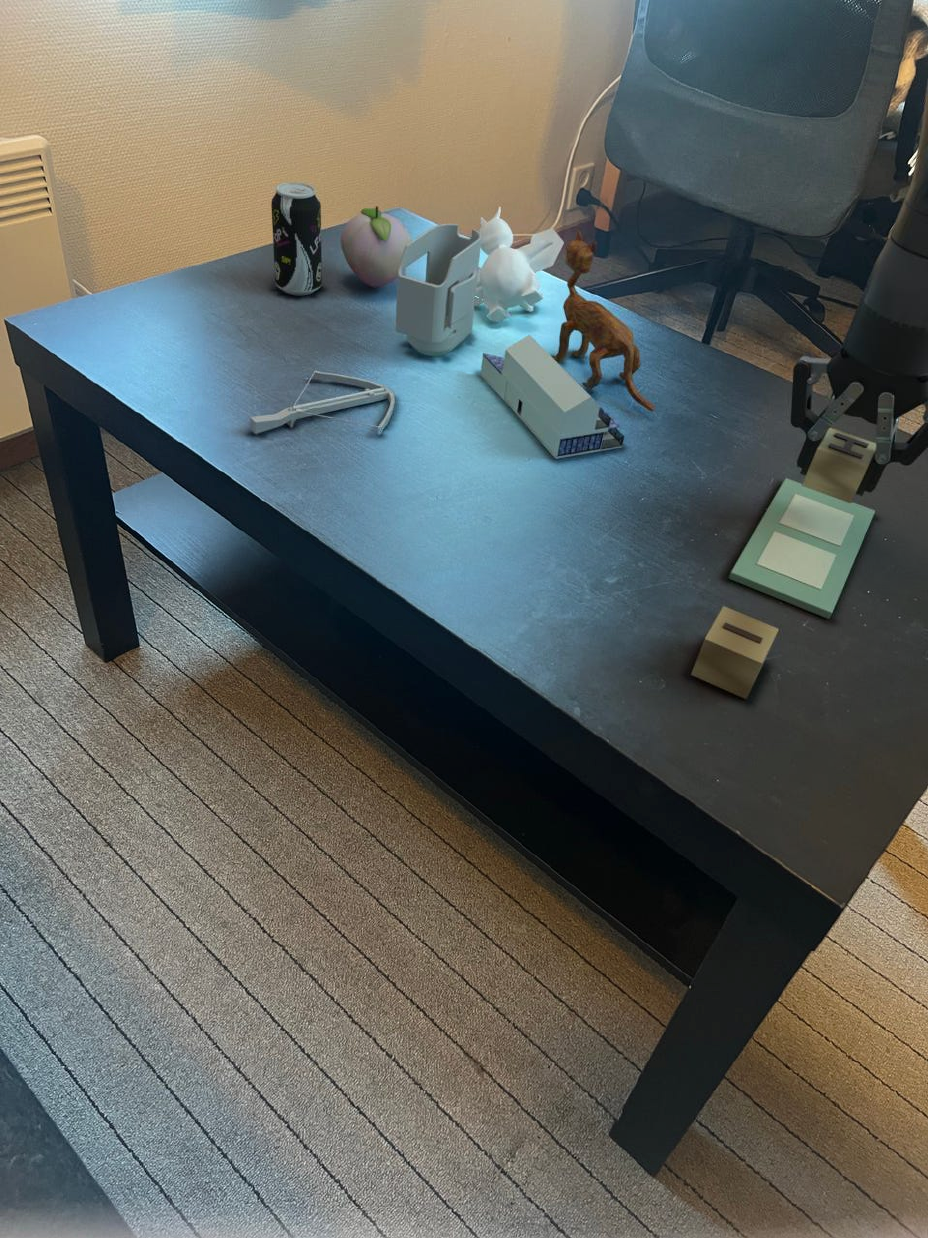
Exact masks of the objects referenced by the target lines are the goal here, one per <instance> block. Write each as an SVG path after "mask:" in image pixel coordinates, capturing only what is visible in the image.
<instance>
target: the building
mask: <svg viewBox="0 0 928 1238" xmlns="http://www.w3.org/2000/svg"><path fill="white" fill-rule="evenodd" d="M551 356H552V355H551V354H549V353H548V352H547V351H546V350H545V348H544V347H542V346H541V344H540V343H538V342H537V340H535V338H533V337H532V335H530V334H528V335H526V336H525V337H523V338H522V339H519V341H517V342H515V343H513V344H511V345H510V346H508V347H506V348H505V351H504V357H502V356H498V355H494V354H490V353H484V352H482V359H481V368H480V376H481V378H483V380H485V382H486V383H487V384H488V385H489V386H490V387H491V389H493V390H494V391H495V392H496V394H497V395H498V396H499V397H500V398H501V399H502V400H503V401H504V402H505V403H506V404H507V405H508V406H509V407H510V408H511V410H512V411H513V412H514V413H515V414H516V416H517V417H518V418H519V419H520V420H521V422H523V423H524V425H525V426H526V427H527V428H528V430H530V432H531V433H532V434H533V435H534V437H536V439H537V440H538V441H539V442H540V443H541V444H542V445H543V447H545V449H546V450H547V451H548V452H549V453H550V455H551V456H552V457H553V458H554V460H557V459H558V460H559V459H564V458H570V457H575V456H581V455H587V454H593V453H598V452H603V451H604V452H605V451H609V450H614V449H621V448H623V444H624V440H625V435H623V433H621V432H620V431H619V430H618V428H621V425H620V424H619V423H618V422H617V421H616V420H615V419H614V418H613V417H612V416H611V415H610V414H609V413H608V412H607V411H606V409H604V408H603V407H602V406H601V405H600V404H599V403H598V402H597V401H596V399H594V397H592V396H591V395H590V394H589V393H588V392H587V391H586V390H585V389H584V388H583V386H581V385H580V384H579V383H578V382H577V381H576V380H575V379H574V378H573V377H572V376H571V375H570V374H569V372H568V371H566V370H565V369H564V367H562V366H561V365H560V363H559V362H556V361H555V360H554V359H553V358H552V357H551Z"/></svg>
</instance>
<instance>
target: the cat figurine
mask: <svg viewBox="0 0 928 1238" xmlns="http://www.w3.org/2000/svg"><path fill="white" fill-rule="evenodd" d="M597 245H598V241H597V240H595V241H593V242H592V243H590V244H587V243H586V242H584V241H583V236H582V233H581V231H580V230H578V231H577V232H576V237H575V239H574V240H572V241H569V242H568V243H567V244H566V247H565V264H566V266H567V267H568V268H569V269H571V270H572V271H573V274H571V275H570V277H569V278H568V280H567V283H566V286H567V288H568V291H569V295H568V296H567V297H566V299H565V300H564V302H563V306H562V309H563V312H564V316H565V320H566V321H564V322H562V323H561V325H560V331H559V336H558V337H559V338H558V339H559V340H558V350H557V353H556V354H555V355H550V356H551V357H552V358H553V359H554V360H555V361H556V362H557V363H560V362H564V361H565V360H566V358H567V356H568V352H569V347H570V338H571V335H572V333H573V332H575V331H577V332H579V333H580V334H581V342H580V346H579V348H578V349H577V350H572V351H571V355H572V356H574V357H577V358H579V357H584V356H585V355H586V354H587V353H588V350H589V347H590V344H591V345H592V346H593V348H594V349H593V350H591V351H590V353H589V356H588V365H589V367H590V370H591V373H592V374H591V376H589V377H588V379H587V380H586V381H585V382H584V381H583V382H581V385H582V387H584V388H586V389H587V390H590V391H592V390H593V389H594V388H595V387H597V386H598V385H599V384H600V383H601V382H602V379H603V374H602V369H601V360H604V359H611V358H615V357H619V356H622V355H623V358H624V360H623V361H624V362H623V371H621V372H619V373H618V376H619V378H620V379H621V380H622V381H624V384H625V387H626V390H627V392H628V394H629V395H630V397H631V398H632V399H633V400H634V401H635V402H637V403H638V404H639V405H640V406H642V407H644V408H645V409H646V410H648V411H651V412H654V411H655V410H656V407H655V406H654V405H653V403H651V402H650V401H649V400H647V399H646V398H645V397H643V396H642V395H641V393H640V392H639V391H638V389H637V388H636V386H635V383H634V380H633V375H634V374H635V373H636V372H637V371H638V370H639V369H640V367H641V365H642V362H641V355H640V348H639V347H638V346H637V345H636V344H635V337H634V333H633V331H632V329H631V328H630V327H629V326H628V325H627V324H625V323H624V322H623V321H622V320H621V319H619V318H618V317H617V316H616V315H615V314H613V313H612V312H611V311H610V310H609V309H607V307H606V306H604V305H603V304H601V303H599V302H598V301H594V300H587V299H586V298H584V297H583V296H582V295H581V294H580V293H579V292H578V291H577V289H576V283H577V282H578V280H579V278H580V276H581V275H583V274H588V273H589V272H590V270H591V267H592V263H593V257H594V253H595V252H596V249H597Z"/></svg>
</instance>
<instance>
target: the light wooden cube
mask: <svg viewBox="0 0 928 1238" xmlns="http://www.w3.org/2000/svg"><path fill="white" fill-rule="evenodd" d="M875 451H876V442H873V441H870V440H868V439H864V438H861V437H858V436H857V435H856V436H855V435H853V434H849V433H846V432H844V431H842V430H838V429H835V428H832V427H830V428H829V429H828V431H827V432H826V434H825V436H824V438H823V439H822V441H821V443H820V445H819V447H818V448H817V451H816V453H815V455H814V458H813V460H812V462H811V465H810V467H809V470H808V472H807V474H806V476H804V479H803V482H802V483H801V484H802V486H804V487H807V488H809V489H812V490H815V491H817V492H820V493H823V494H826V495H828V496H831V497H834V498H836V499H839V500H842V501H845V502H847V503H851V502H853V500H854V498H855V495H856V491H857V489H858V487H859V485H860V483H861V481H862V479H863V477H864V474H865V472H866V470H867V468H868V466H869V464H870V462H871V459H872V457H873V455H874V453H875Z"/></svg>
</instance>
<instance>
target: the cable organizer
mask: <svg viewBox="0 0 928 1238" xmlns="http://www.w3.org/2000/svg"><path fill="white" fill-rule="evenodd" d="M459 226H460V225H459V224H458V223H441V224H436V225H434V226H431V228H429V229H428V230H425V232H423V233H421V234H420V235H418V236H417V237H415V238H414V239H411V242H409V243H408V244H406V245H405V248H404V251H403V255H402V258H401V262H400V265H399V269H398V279H397V287H396V305H395V306H396V307H395V309H396V310H395V332H396V333H398V334H402V335H404V336H406V340H407V342H408V343H409V344H410V346H412V348H413V349H414V350H415V351H416V352H418V353H420V354H421V355H423V356H427V357H443V356H445V355H448V354H449V353H451V352H452V351H453V350H454V349H455V348H456V347H457V346H459V345H460V344H461V343H462V342H463V341H464V340H466V338H467V337H468V336H469V334H470V333H471V332H472V331H473V323H474V313H475V295H476V286H477V276H478V267H479V266H480V257H481V256H480V255H481V239H482V236H481V234H480V233H479V230H477V229H475V228H471V237H470V238H468V237H466V236H462V235H460V234H459ZM425 255H426V267H425V281H423V280H421V279H417V278H414V277H410V276H406V273H407V268H408V267H409V266H411V265H412V264H413V263H415V262H417V261H418V260H419V259H420V258H422V257H424V256H425ZM479 268H480V267H479Z"/></svg>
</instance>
